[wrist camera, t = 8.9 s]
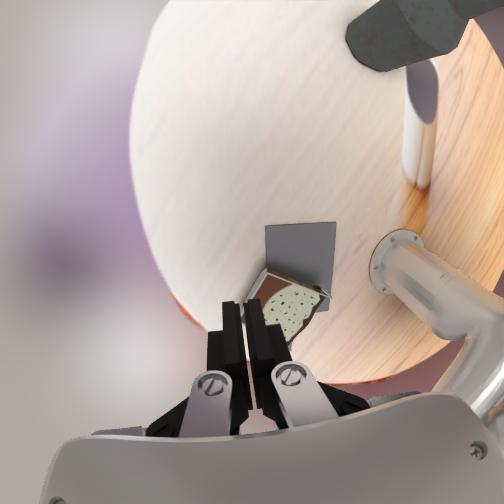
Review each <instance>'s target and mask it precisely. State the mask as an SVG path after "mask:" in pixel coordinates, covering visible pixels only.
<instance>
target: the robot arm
mask: <svg viewBox="0 0 504 504" xmlns="http://www.w3.org/2000/svg"><path fill="white" fill-rule="evenodd" d="M370 279H371V281H372V284H373V285H374V286H375V288H377V289H378V290H379V291H380V292H381V293H384V294H390V295H392V294H395V295H396V296H397V297H398V298H399V299H400V300H401V301H402V302H403V303H404V304H405V305H406V306H407V307H408V308H409V309H410V310H411V311H412V312H413V313H414V314H415V315H416V316H417V317H418V318H419V319H420V320H421V321H422V322H423V323H424V324H425V325H426V326H427V327H428V328H429V329H430V330H431V331H432V332H433V333H434V334H435V335H436V336H438V337H439V338H441V339H444V340H462V339H465V343H464V345H463V347H462V348H461V350H460V351H459V354H458V355H457V356H456V358H455V359H454V361H453V362H452V364H451V365H450V366H449V367H448V369H447V370H446V372H445V373H444V374H443V375H442V377H441V378H440V380H439V381H438V382H437V383H436V385H435V386H434V388H433V390H432V391H431V392H430V393H420V392H417V391H412V392H406V393H399V394H393V395H386V396H378V397H371V399H370V400H364V399H363V398H361V397H358V396H356V395H353V394H350V393H347V392H345V391H342V390H339V389H336V388H334V387H331V386H329V385H326V384H323V383H321V382H318V381H316V379H315V378H314V376H313V374H312V373H311V371H310V369H309V368H308V367H307V366H306V365H304V364H302V363H300V362H296V361H292V358H291V355H290V352H289V348H288V345H287V342H286V339H285V336H284V333H283V330H282V327H281V324H280V323H279V324H272V325H266V323H265V319H264V315H263V311H262V307H261V303H260V299H259V298H254V299H247V303H243V307H244V316H245V325H246V333H247V342H248V350H249V357H250V364H251V371H252V377H253V384H254V391H255V397H256V404H257V409H260V408H262V410H263V415H265V416H266V417H268V418H270V419H272V420H273V422H274V426H275V428H276V431H269V432H262V433H254V434H245V435H241V431H242V427H241V424H242V423H243V422H244V421H245V420H246V419H247V418H248V417H249V414H248V410H253V405H252V398H251V391H250V384H249V376H248V369H247V361H246V353H245V346H244V338H243V330H242V322H241V314H240V306H239V303H238V304H235V303H234V301H228V302H222V314H223V330H221V331H211V332H208V347H207V372H204V373H202V374H201V375H199V376H198V377H197V378H196V379H195V381H194V383H193V386H192V389H191V393H190V396H189V397H188V398H186V399H185V400H184V401H182V402H181V403H180V404H178V405H177V406H176V407H174V408H173V409H171V410H170V411H169V412H167V413H166V414H164V415H163V416H161V417H160V418H159V419H157V420H156V421H154V422H153V423H152V424H151V425H150V426H149V427H148V428H142V426H139V427H130V428H121V429H111V430H100V431H96V432H94V433H93V434H91V435H89V436H83V437H78V438H74V439H71V440H69V441H66V442H65V443H63V444H62V445H61V446H60V447H59V448H58V450H57V451H56V453H55V455H54V457H53V459H52V461H51V463H50V465H49V468H48V471H47V474H46V477H45V481H44V484H43V488H42V492H41V496H40V501H39V504H504V400H503V401H502V402H501V403H500V404H499V405H498V406H496V407H493V406H494V405H495V404H496V402H497V401H498V400H499V399H500V398H501V397H502V395H503V394H504V298H502V297H500V296H498V295H496V294H494V293H493V292H491V291H489V290H488V289H486V288H485V287H483V286H482V285H480V284H478V283H477V282H475V281H474V280H473V279H471V278H470V277H468V276H467V275H465V274H464V273H462V272H461V271H459V270H458V269H456V268H455V267H453V266H452V265H450V264H449V263H447V262H446V261H444V260H442V259H441V258H439V255H438V254H433V253H431V252H430V251H428V250H426V249H425V248H424V244H423V241H422V239H421V238H420V237H419V235H417V234H416V233H415V232H413V231H410V230H406V229H400V230H397V231H394V232H392V233H390V234H389V235H388V236H386V237H385V238H384V239H383V240H382V241H381V242H380V243H379V245H378V246H377V248H376V249H375V251H374V253H373V256H372V259H371V263H370Z"/></svg>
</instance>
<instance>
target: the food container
mask: <svg viewBox="0 0 504 504" xmlns="http://www.w3.org/2000/svg"><path fill="white" fill-rule="evenodd" d="M326 297H328V298H331V299H332V297H331V295H330V294H329V293H328V292H327V291H326V290H325V289H324V288H323V287H322V286H320V285H318V284H315V285H313V286H309V285H307V284H304V283H302V282H299V281H297V280H294V279H292V278H289V277H287V276H284V275H282V274H279V273H277V272H274V271H272V270H269V269H267V268H265V269H264V270H263V271H262V272H261V274H260V275H259V277H258V278H257V280H256V281H255V283H254V285H253V286H252V288H251V290H250V292H249V294H248V296H247V298H246V300H245V302H244V303H247V299H254V298H259V299H260V303H261V307H262V311H263V315H264V319H265V323H266V325H272V324H279V323H280V324H281V327H282V330H283V333H284V336H285V339H286V342H287V345H288V348H289V351H291V346H292V341H293V340H294V338H295V337H296V336H297V335H298V334H299V333H300V332H301V331H302V330H303V329H304V328H305V327H306V326H307V325H308V324H309V322H310V321H311V319H312V317H313V315H314V313H315V311H316V310H317V308H318V307H319V306H320V304H321V303H322V302H323V301H324V299H325V298H326ZM240 314H241V322H242V324H243V325H244V326H246V325H245V316H244V307H243V306H242V309H241V311H240Z"/></svg>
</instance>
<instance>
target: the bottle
mask: <svg viewBox="0 0 504 504" xmlns="http://www.w3.org/2000/svg"><path fill="white" fill-rule="evenodd" d="M501 6H504V0H380V1H379V2H377V3H376V4H375V5H373V6H372V7H370V8H369V9H368V10H366V11H365V12H364V13H363V14H361V15H360V16H359V17H357V18H356V19H355V20H353V21H352V22H351V23H350V24H349V25H348V31H347V37H346V40H347V42H348V44H349V46H350V48H351V50H352V52H353V54H354V56H355V57H356V58H357V59H358V60H359V61H360V62H361V63H363V64H365V65H367V66H369V67H371V68H374V69H376V70H378V71H382V72H388V71H390V70H393V69H396V68H400V67H403V66H406V65H409V64H412V63H416V62H419V61H423V60H426V59H430V58H433V57H437V56H441V55H445V54H448V53H450V52H451V51H452V50H454V49H455V48H457V47H458V44H459V42H460V40H461V38H462V35H463V33H464V31H465V28H466V26H467V24H468V21H469V19H472V18H474V17H476V16H479V15H481V14H483V13H486V12H488V11H491V10H493V9H496V8H499V7H501Z"/></svg>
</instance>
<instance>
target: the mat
mask: <svg viewBox="0 0 504 504" xmlns="http://www.w3.org/2000/svg"><path fill="white" fill-rule="evenodd" d="M265 230H266V268H267V269H269V270H272V271H274V272H277V273H279V274H282V275H284V276H287V277H289V278H292V279H294V280H297V281H299V282H302V283H304V284H307V285H309V286H313V285H315V284H318V285H320V286H322V287H323V288H324V289H325V290H326V291H327V292H328V293H329V294H331V284H332V274H333V263H334V251H335V237H336V222H322V223H303V224H285V225H269V226H265ZM329 302H330V298H328V297H326V298H325V299H324V301H323V302H322V303H321V304H320V306H319V307H318V308H317V310H316V311H315V312H322V311H328V310H329Z"/></svg>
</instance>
